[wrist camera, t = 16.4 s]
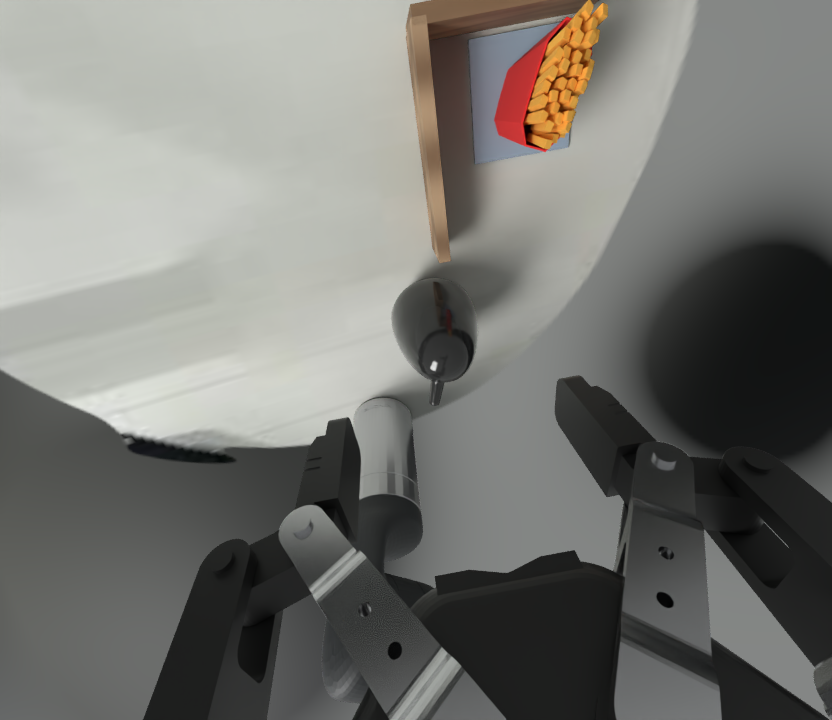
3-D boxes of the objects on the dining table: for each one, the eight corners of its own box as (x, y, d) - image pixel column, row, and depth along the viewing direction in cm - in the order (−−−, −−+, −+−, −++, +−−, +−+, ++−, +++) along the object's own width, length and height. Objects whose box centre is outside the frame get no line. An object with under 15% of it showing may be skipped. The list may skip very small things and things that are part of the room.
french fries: (521, 151, 36) (573, 156, 26) (486, 142, 36) (526, 143, 26) (554, 47, 32) (632, 6, 22) (515, 35, 31) (578, -15, 21)
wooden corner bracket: (565, 224, 41) (590, 235, 36) (432, 248, 41) (439, 263, 36) (583, -8, 30) (623, -37, 25) (404, 26, 31) (409, 4, 26)
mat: (566, 147, 37) (568, 147, 37) (474, 164, 37) (475, 164, 37) (576, 19, 31) (577, 18, 31) (468, 40, 32) (468, 39, 31)
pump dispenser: (385, 335, 47) (386, 407, 35) (398, 261, 42) (404, 314, 29) (456, 345, 49) (481, 417, 36) (477, 275, 44) (516, 331, 31)
